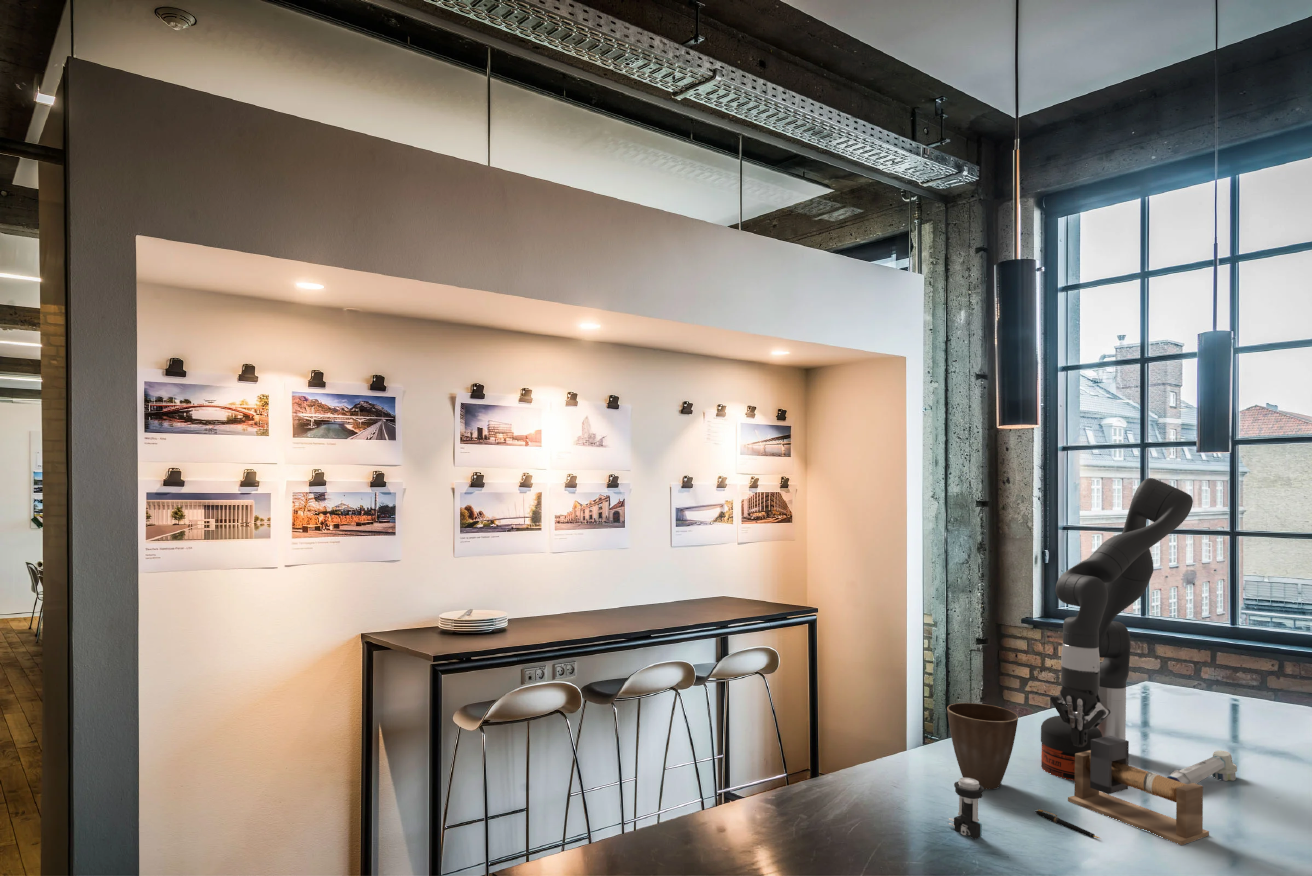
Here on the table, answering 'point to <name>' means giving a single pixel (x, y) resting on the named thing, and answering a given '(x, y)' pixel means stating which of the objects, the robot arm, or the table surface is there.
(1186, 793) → the stand
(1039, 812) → the fountain pen
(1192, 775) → the toothbrush head
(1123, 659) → the robot arm
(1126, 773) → the pipe
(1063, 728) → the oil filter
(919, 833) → the table surface
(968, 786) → the push button
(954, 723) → the plant pot
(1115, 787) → the collar
